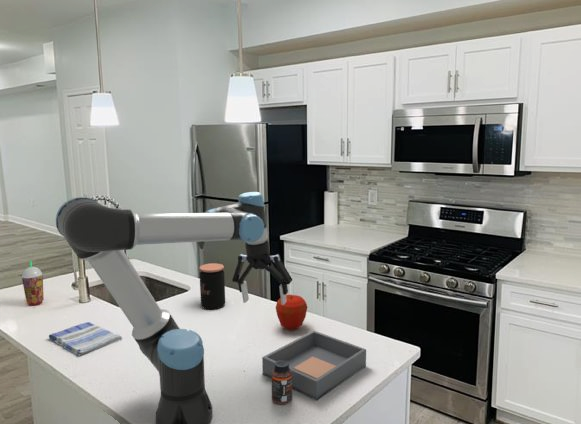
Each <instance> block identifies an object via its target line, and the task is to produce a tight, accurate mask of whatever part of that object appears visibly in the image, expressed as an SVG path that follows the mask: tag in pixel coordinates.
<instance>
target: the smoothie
mask: <svg viewBox="0 0 581 424" xmlns="http://www.w3.org/2000/svg"><path fill="white" fill-rule="evenodd" d="M29 264H30V265H29V266H28V267H27V268H25V270H23V272H22V275H21V281H22V286H23V290H24V291H23V292H24V296H25V301H26V304H27V305H28V306H30V307H36V306H40V305H42V304H43V301H44V299H45V297H44V275H43V274H44V273H43V272H42V271H41V269H40V268H39V267H37V266H33V262H32V260H29Z"/></svg>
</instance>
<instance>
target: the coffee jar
mask: <svg viewBox="0 0 581 424" xmlns="http://www.w3.org/2000/svg"><path fill="white" fill-rule="evenodd" d="M198 268H199V290H200V293H199V294H200V306H201V307H202V309H205V310H208V311H209V310H211V311H213V310H219V309H221V308H223V307H224V306H225V304H226V286H225V285H226V281H225V271H224V269H225V266H224V265H223V264H221V263H215V262H213V263H212V262H211V263H210V262H209V263H205V264H202V265H200V266H199V267H198Z"/></svg>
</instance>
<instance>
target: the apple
mask: <svg viewBox="0 0 581 424" xmlns="http://www.w3.org/2000/svg"><path fill="white" fill-rule="evenodd" d="M286 300H287V302H286V303H285V304H284V305H282V304H281V297H279V299H278V300H277V301H276V305H275V311H276V316H277V319H278V321H279V323H280V325H281V327H282V328H284V329H285V330H288V331H295V330H297V329H298V328H301V326H303V323H304V322H305V319H306V316H307V311H308V304H307V302H306V300H305V298H303V297H302V296H301V295H296V294H295V295H294V294H286Z"/></svg>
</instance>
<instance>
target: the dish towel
mask: <svg viewBox="0 0 581 424" xmlns="http://www.w3.org/2000/svg"><path fill="white" fill-rule="evenodd" d="M48 338H49V339H50V340H51V341H53V342H55V343H56V344H57V345H59V346H61V347H62V348H64V350H67V351H69V352H71V353H73V354H74V355H76V356H77V357H80V356H83V355H84V356H85V355H87V354H89V353H92V352H94V351H96V350H99V349H102V348H104V347H106V346H109V345H112V344H114V343H116V342H119V340H120V341H122V339H123V337H122V335H120V334H117V333H114V332H112V331H110V330H108V329H105V328H103V327H101V326H98V325H96V324H94V323H93V322H90V321H88V322H84V323H80V324H77V325H74V326H71V327H68V328H65V329H63V330H60V331H57V332H53V333H50V334H49V335H48Z"/></svg>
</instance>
